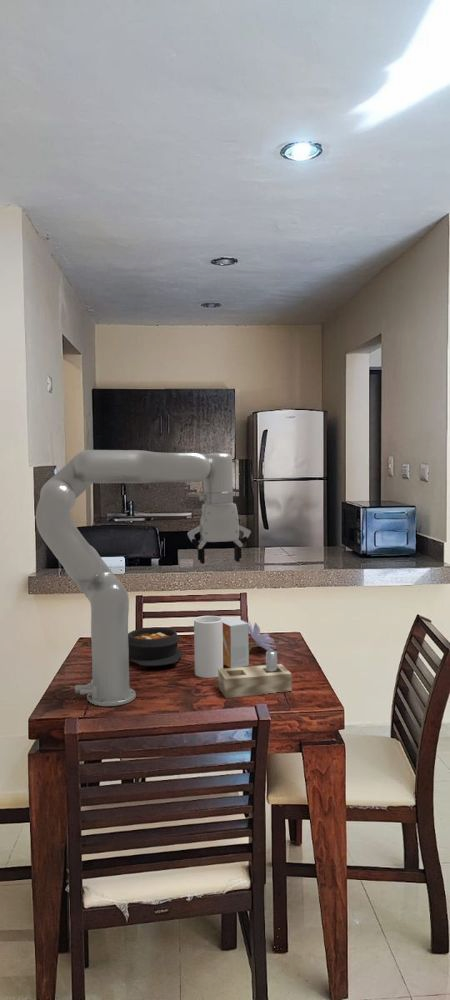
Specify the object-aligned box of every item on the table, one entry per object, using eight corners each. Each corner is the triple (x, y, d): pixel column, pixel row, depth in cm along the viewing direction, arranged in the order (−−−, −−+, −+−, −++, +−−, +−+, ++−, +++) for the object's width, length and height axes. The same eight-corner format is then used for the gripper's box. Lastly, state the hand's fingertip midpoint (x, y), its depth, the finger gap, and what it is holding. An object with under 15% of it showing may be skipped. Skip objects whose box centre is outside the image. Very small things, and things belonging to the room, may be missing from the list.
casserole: (191, 668, 217) (191, 640, 217) (129, 675, 212) (128, 646, 211) (173, 646, 241) (173, 621, 241) (116, 651, 236) (116, 626, 235)
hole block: (225, 698, 191) (225, 679, 191) (218, 687, 200) (218, 669, 200) (291, 691, 195) (291, 673, 195) (281, 681, 204) (281, 663, 204)
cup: (189, 674, 211) (188, 620, 210) (205, 667, 218) (204, 614, 217) (212, 679, 207) (211, 623, 205) (228, 671, 213) (227, 617, 212)
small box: (218, 662, 223) (217, 619, 222) (236, 659, 226) (235, 617, 225) (230, 669, 216) (230, 625, 215) (249, 665, 219) (249, 622, 218)
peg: (268, 690, 197) (267, 653, 196) (264, 686, 200) (264, 650, 199) (278, 689, 198) (278, 653, 197) (275, 685, 201) (275, 649, 200)
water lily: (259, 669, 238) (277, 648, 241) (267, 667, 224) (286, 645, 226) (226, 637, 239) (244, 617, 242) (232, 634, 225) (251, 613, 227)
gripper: (189, 501, 191) (190, 566, 193) (253, 499, 195) (254, 562, 197) (184, 499, 199) (185, 561, 200) (246, 497, 203) (247, 558, 204)
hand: (219, 562), depth 198 cm, fingers open, 9 cm apart
